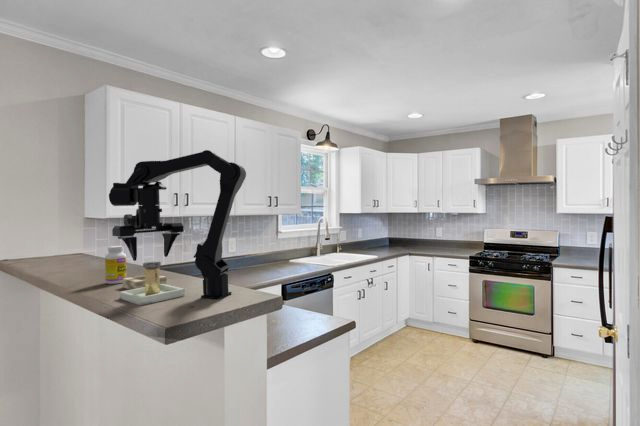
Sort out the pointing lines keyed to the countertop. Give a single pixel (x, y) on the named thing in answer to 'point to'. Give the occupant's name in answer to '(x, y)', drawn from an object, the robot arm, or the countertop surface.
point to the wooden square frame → (139, 282)
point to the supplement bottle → (115, 265)
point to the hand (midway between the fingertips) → (150, 258)
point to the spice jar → (152, 278)
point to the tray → (140, 298)
